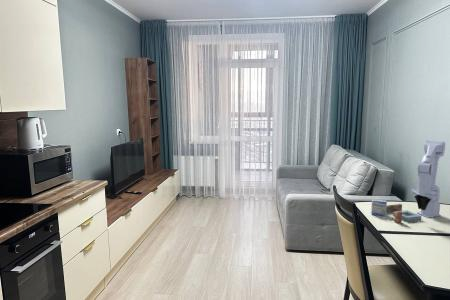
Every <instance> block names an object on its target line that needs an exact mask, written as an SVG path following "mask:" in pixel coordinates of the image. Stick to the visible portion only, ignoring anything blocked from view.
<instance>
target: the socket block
mask: <svg viewBox="0 0 450 300" xmlns="http://www.w3.org/2000/svg"><path fill="white" fill-rule="evenodd" d="M400 212H402V221H403V222H405V223H408V222H409V223H410V222H411V223H412V222H417V221H422V215H420V214H418V213H415V212H412V211H410V210H402V211H400ZM392 216H393V217H394V218H395V212H392Z"/></svg>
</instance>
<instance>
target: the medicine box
mask: <svg viewBox="0 0 450 300" xmlns="http://www.w3.org/2000/svg"><path fill="white" fill-rule="evenodd" d="M387 205H388V203H387V200H383V199H374V198H372V199H371V209H370V210H371V211H370V213H371V215H372V216H379V215H380V216H381V217H382V216H383V217H386V216H387V213H386V207H387ZM380 216H379V217H380Z"/></svg>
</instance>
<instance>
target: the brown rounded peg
mask: <svg viewBox="0 0 450 300" xmlns="http://www.w3.org/2000/svg"><path fill="white" fill-rule="evenodd" d="M402 221H403V220H402V212H400V211H395V217H394V223H395V224H402Z"/></svg>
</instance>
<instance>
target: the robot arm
mask: <svg viewBox="0 0 450 300" xmlns="http://www.w3.org/2000/svg"><path fill="white" fill-rule="evenodd" d="M423 145H424V146H423V150H424V153H425V154H424V155H423V156H422V159H421V162H420V163H418V165H417V188H416V189H410V194H414V199H415V202H416V203H417V208H418V209H419V210H420V211H417V212H416V214H418V215H420V216H424V217H426V218H433V217H434V218H435V217H441V214H440V211H441V210H440V209H441V203H440V201H439V200H440V196H441V189H440V187H439V186H438V185H436V179H437V175H438V174H437V173H438V168H439V167H438V165H439V160H440V158H442V157H444V155H445V150H446V142H445V141H444V140H443V141H438V140H425V141H424V144H423Z"/></svg>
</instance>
